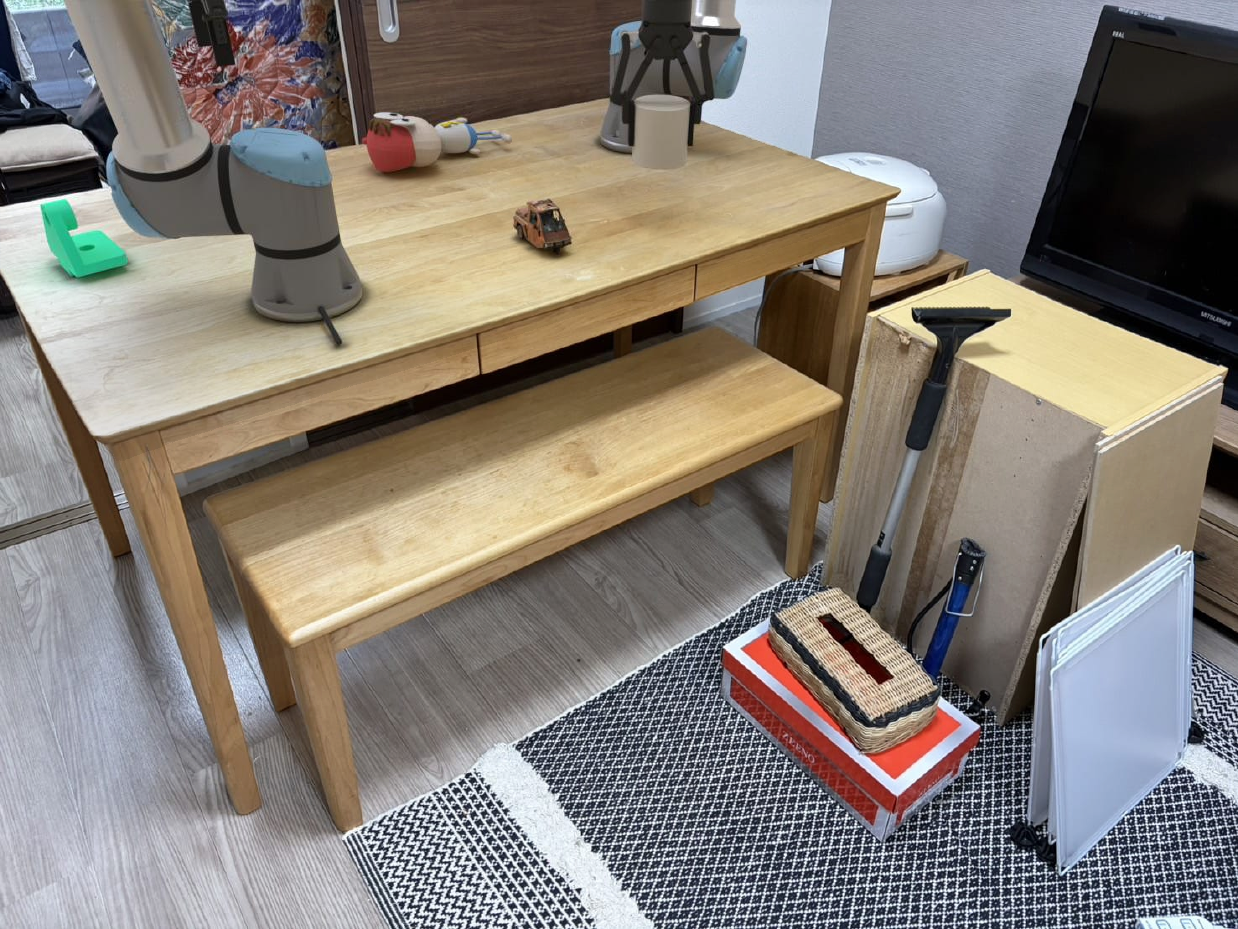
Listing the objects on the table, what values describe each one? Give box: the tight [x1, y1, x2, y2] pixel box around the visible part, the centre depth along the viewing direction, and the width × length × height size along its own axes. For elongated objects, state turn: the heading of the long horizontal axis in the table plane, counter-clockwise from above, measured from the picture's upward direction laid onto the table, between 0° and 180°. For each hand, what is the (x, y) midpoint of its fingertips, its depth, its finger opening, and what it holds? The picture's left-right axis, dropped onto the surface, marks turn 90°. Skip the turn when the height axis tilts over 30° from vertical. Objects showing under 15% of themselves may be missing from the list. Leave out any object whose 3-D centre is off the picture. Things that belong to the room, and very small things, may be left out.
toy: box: [361, 111, 513, 173], centre depth 182 cm, size 18×10×30 cm
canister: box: [631, 94, 690, 171], centre depth 151 cm, size 9×9×9 cm
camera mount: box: [39, 198, 129, 278], centre depth 139 cm, size 12×8×10 cm, turn 42°
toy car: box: [512, 198, 573, 256], centre depth 150 cm, size 6×12×7 cm, turn 39°
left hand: (216, 55), depth 147 cm, fingers open, 13 cm apart
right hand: (659, 143), depth 152 cm, fingers closed on canister, 9 cm apart
